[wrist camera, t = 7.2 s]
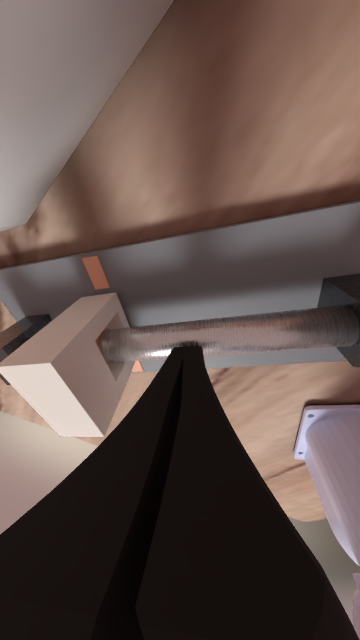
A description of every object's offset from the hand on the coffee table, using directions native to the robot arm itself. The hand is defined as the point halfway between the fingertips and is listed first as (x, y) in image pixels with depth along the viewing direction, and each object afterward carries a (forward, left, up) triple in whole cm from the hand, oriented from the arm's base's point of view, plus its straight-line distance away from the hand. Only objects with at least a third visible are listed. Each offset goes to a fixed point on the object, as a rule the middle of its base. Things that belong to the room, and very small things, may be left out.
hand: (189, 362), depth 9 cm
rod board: (0, +2, -5) cm, 5 cm away
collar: (0, +6, -4) cm, 7 cm away
